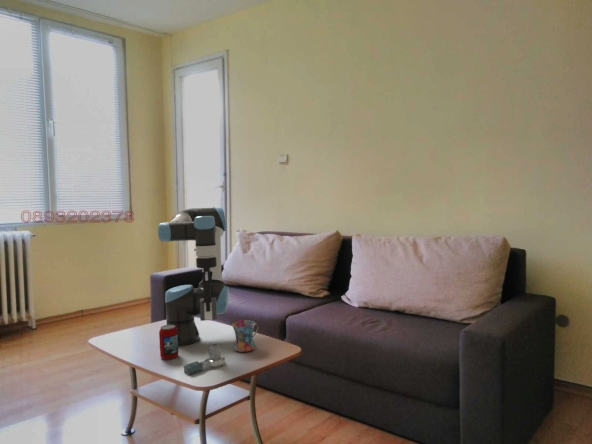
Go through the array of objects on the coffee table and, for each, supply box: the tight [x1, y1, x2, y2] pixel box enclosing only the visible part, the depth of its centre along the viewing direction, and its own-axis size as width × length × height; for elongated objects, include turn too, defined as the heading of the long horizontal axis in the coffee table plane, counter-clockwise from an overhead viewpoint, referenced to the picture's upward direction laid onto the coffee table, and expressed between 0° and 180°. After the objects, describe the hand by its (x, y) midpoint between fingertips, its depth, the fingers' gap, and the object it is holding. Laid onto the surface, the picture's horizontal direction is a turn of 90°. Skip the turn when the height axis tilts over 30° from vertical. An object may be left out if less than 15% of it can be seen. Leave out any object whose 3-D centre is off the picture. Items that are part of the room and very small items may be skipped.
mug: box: [231, 319, 260, 353], centre depth 179 cm, size 12×9×11 cm
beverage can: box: [158, 324, 179, 360], centre depth 173 cm, size 7×7×12 cm
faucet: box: [183, 343, 226, 376], centre depth 161 cm, size 7×15×7 cm, turn 132°
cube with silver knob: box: [199, 297, 218, 322], centre depth 170 cm, size 6×6×8 cm
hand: (208, 317), depth 170 cm, fingers closed on cube with silver knob, 6 cm apart
